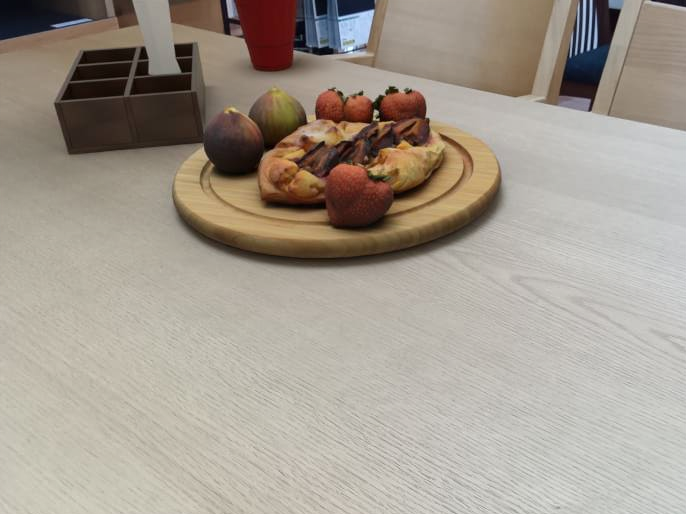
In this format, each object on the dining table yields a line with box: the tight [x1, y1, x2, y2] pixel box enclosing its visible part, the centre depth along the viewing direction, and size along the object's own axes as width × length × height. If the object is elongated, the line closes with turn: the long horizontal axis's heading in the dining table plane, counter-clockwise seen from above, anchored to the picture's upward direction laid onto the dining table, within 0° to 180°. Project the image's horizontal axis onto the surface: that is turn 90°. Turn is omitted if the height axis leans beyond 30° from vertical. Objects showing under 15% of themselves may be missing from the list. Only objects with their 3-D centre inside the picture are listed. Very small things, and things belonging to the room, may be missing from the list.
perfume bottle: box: [131, 0, 181, 75], centre depth 85 cm, size 5×4×15 cm
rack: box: [53, 41, 206, 155], centre depth 91 cm, size 15×22×6 cm
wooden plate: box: [171, 85, 502, 259], centre depth 72 cm, size 32×32×8 cm
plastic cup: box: [233, 0, 299, 72], centre depth 106 cm, size 11×11×12 cm
